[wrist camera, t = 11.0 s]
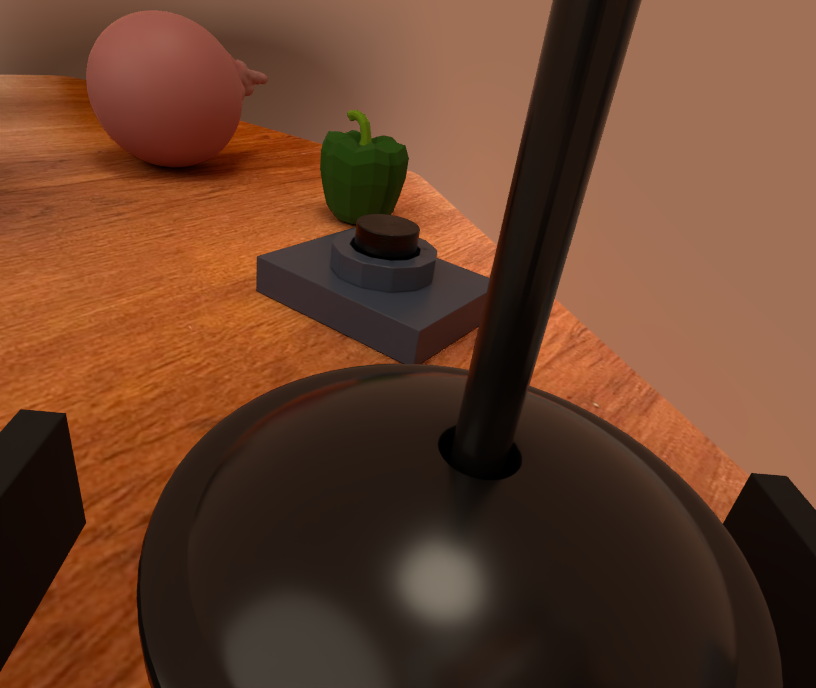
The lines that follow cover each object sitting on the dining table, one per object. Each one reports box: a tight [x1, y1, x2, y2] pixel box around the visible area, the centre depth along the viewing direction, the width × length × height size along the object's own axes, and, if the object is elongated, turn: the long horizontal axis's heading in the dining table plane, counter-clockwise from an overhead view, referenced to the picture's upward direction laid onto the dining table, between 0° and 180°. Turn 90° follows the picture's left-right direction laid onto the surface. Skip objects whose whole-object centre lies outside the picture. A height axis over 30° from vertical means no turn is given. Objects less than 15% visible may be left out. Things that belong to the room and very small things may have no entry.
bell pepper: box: [320, 110, 409, 224], centre depth 58 cm, size 8×8×10 cm
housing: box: [257, 227, 490, 364], centre depth 43 cm, size 14×11×4 cm
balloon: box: [86, 10, 268, 167], centre depth 65 cm, size 15×20×15 cm
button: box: [354, 214, 420, 261], centre depth 41 cm, size 4×4×2 cm
